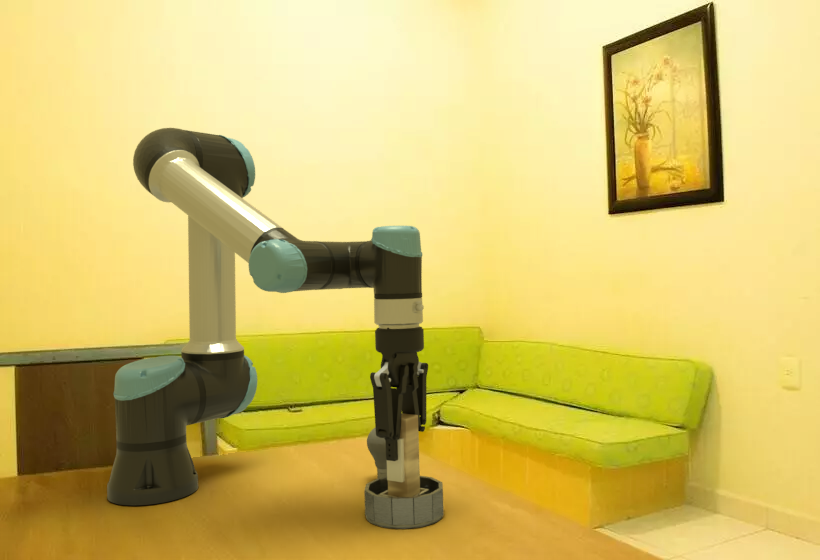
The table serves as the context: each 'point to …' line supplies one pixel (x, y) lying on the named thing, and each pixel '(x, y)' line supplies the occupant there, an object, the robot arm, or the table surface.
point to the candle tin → (404, 505)
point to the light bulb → (378, 452)
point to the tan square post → (408, 459)
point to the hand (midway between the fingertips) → (403, 476)
